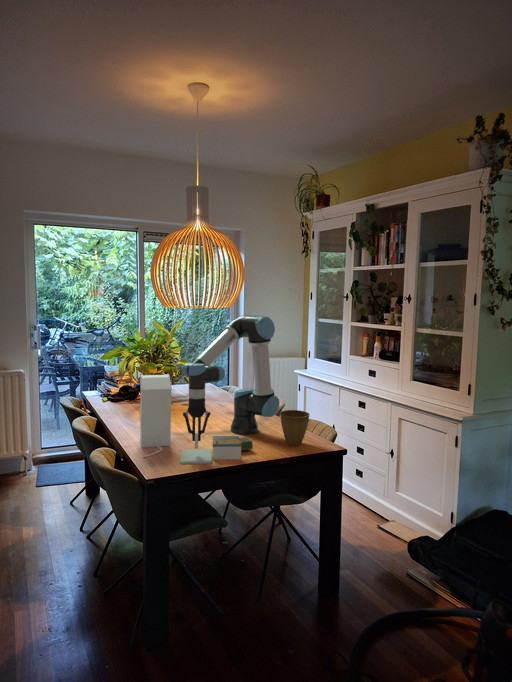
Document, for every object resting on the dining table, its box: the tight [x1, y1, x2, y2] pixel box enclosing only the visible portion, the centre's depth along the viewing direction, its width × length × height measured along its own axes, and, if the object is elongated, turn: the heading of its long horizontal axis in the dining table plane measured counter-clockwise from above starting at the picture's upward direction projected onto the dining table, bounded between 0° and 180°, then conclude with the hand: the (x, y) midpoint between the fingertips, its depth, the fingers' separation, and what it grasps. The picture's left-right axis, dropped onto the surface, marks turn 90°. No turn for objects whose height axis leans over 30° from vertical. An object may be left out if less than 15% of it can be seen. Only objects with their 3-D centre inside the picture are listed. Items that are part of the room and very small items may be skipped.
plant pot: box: [279, 409, 310, 447], centre depth 254 cm, size 15×15×16 cm
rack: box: [212, 434, 242, 461], centre depth 238 cm, size 19×13×7 cm
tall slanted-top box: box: [139, 373, 172, 458], centre depth 244 cm, size 14×35×35 cm, turn 16°
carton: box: [216, 437, 254, 452], centre depth 241 cm, size 8×16×4 cm, turn 117°
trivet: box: [179, 448, 213, 465], centre depth 231 cm, size 18×14×1 cm
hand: (196, 447), depth 230 cm, fingers closed
